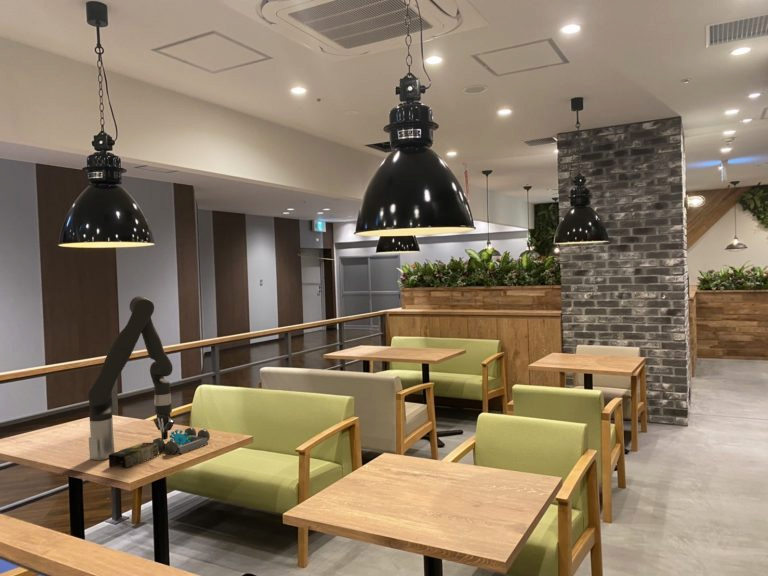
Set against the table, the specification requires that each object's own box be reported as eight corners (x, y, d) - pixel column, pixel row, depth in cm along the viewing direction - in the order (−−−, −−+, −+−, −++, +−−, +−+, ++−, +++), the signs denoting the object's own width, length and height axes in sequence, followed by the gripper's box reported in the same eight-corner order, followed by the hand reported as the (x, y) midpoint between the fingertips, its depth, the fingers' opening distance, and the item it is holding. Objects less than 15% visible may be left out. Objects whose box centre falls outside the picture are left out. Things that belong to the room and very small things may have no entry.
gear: (175, 447, 264) (167, 429, 269) (169, 455, 266) (161, 437, 271) (196, 444, 272) (188, 427, 277) (190, 452, 275) (182, 435, 280)
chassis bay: (176, 455, 258) (175, 442, 258) (152, 451, 266) (152, 438, 265) (211, 442, 275) (210, 430, 275) (188, 438, 283) (187, 426, 283)
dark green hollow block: (145, 452, 264) (144, 439, 264) (161, 455, 261) (160, 441, 260) (108, 468, 246) (107, 453, 246) (125, 470, 242) (124, 456, 242)
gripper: (147, 403, 275) (149, 439, 276) (165, 406, 268) (167, 443, 269) (160, 400, 282) (162, 435, 282) (178, 402, 275) (180, 438, 275)
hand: (164, 439), depth 276 cm, fingers closed
